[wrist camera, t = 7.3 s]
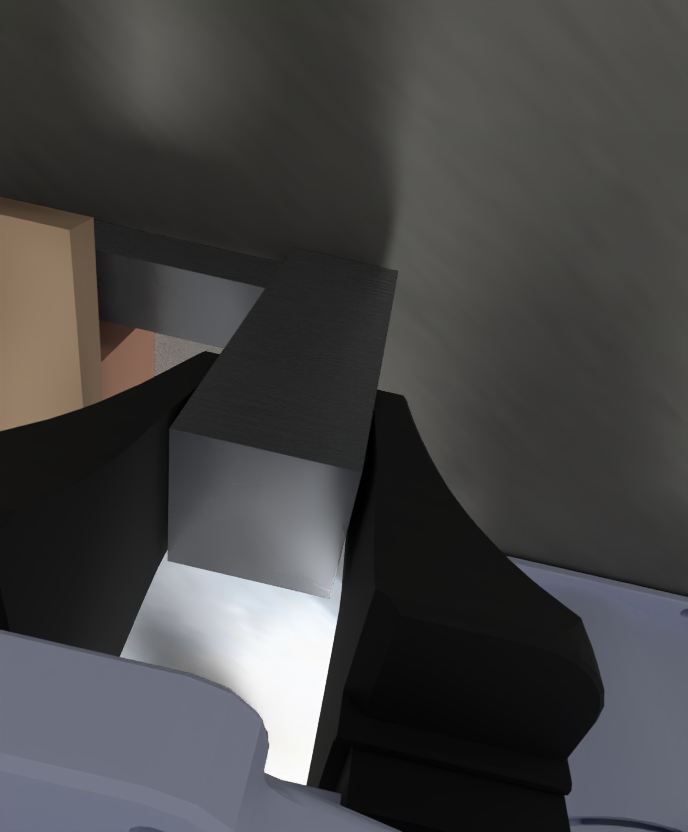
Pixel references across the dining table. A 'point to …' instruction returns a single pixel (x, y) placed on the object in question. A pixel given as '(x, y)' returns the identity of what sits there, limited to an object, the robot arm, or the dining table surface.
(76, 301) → the cubby
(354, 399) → the grey angled block
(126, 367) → the cube
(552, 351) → the dining table surface
